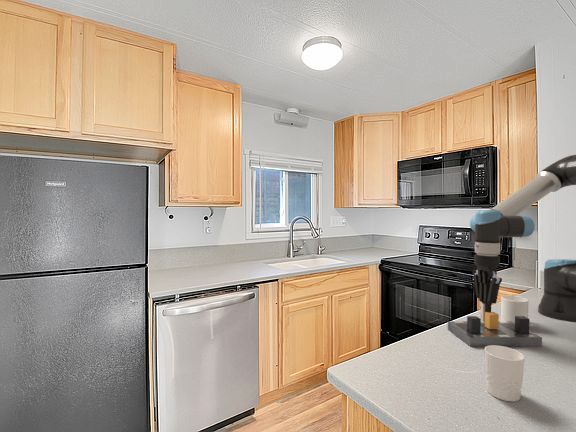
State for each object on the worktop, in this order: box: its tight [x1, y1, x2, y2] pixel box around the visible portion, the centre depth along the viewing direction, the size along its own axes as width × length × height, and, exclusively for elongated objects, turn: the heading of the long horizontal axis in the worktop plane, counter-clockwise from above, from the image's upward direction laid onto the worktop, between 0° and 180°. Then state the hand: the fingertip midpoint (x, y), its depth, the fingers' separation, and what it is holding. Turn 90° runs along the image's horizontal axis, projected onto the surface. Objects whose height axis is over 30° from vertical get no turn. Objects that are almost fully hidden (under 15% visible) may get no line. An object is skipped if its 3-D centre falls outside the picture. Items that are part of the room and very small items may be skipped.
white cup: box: [484, 345, 525, 403], centre depth 75 cm, size 8×8×10 cm
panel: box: [447, 315, 543, 348], centre depth 107 cm, size 23×14×8 cm, turn 90°
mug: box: [500, 294, 529, 323], centre depth 119 cm, size 12×8×10 cm
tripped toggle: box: [485, 311, 500, 329], centre depth 108 cm, size 3×2×5 cm
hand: (485, 320), depth 111 cm, fingers closed
